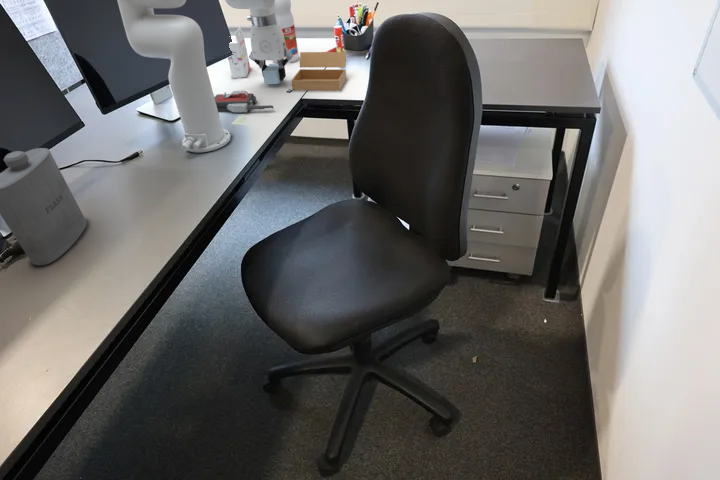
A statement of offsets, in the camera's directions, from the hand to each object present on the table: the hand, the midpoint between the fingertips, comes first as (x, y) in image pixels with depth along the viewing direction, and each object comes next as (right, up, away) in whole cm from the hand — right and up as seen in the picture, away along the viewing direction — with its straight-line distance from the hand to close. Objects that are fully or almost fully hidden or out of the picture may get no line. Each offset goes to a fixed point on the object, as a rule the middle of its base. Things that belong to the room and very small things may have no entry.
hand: (274, 78), depth 158 cm
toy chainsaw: (-7, -13, -12) cm, 19 cm away
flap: (+16, +6, -1) cm, 17 cm away
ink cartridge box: (-14, +6, +12) cm, 19 cm away
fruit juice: (+1, +14, +20) cm, 24 cm away
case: (0, 0, 0) cm, 0 cm away
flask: (-33, -53, -59) cm, 86 cm away
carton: (+15, -3, -2) cm, 15 cm away
